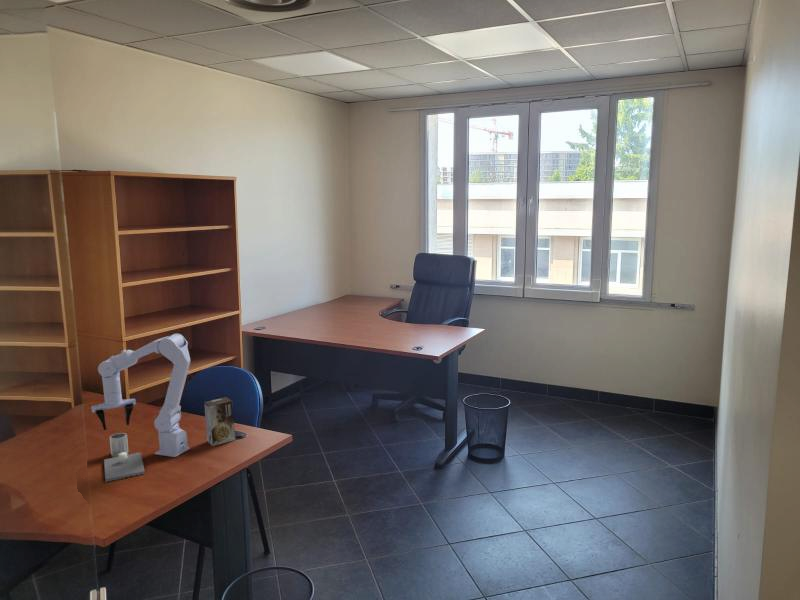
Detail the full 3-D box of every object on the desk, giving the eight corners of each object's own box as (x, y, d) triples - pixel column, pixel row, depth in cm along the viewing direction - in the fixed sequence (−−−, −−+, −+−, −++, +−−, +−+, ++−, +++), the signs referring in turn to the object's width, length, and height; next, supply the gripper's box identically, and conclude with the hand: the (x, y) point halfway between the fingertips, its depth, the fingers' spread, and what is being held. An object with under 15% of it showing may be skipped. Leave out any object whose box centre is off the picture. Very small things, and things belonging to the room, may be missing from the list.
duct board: (140, 454, 214) (139, 444, 213) (145, 473, 198) (143, 462, 197) (104, 462, 208) (103, 451, 207) (105, 482, 192) (104, 470, 192)
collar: (131, 451, 217) (130, 433, 215) (120, 457, 211) (118, 439, 210) (119, 450, 218) (118, 432, 217) (108, 456, 213) (106, 437, 212)
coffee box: (229, 435, 230) (226, 396, 228) (235, 440, 225) (232, 400, 223) (206, 441, 225) (203, 401, 222) (212, 446, 220) (209, 405, 217)
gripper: (131, 385, 220) (135, 419, 222) (89, 392, 212) (93, 428, 214) (135, 389, 215) (138, 424, 217) (91, 397, 207) (95, 433, 209)
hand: (116, 426), depth 215 cm, fingers open, 7 cm apart
